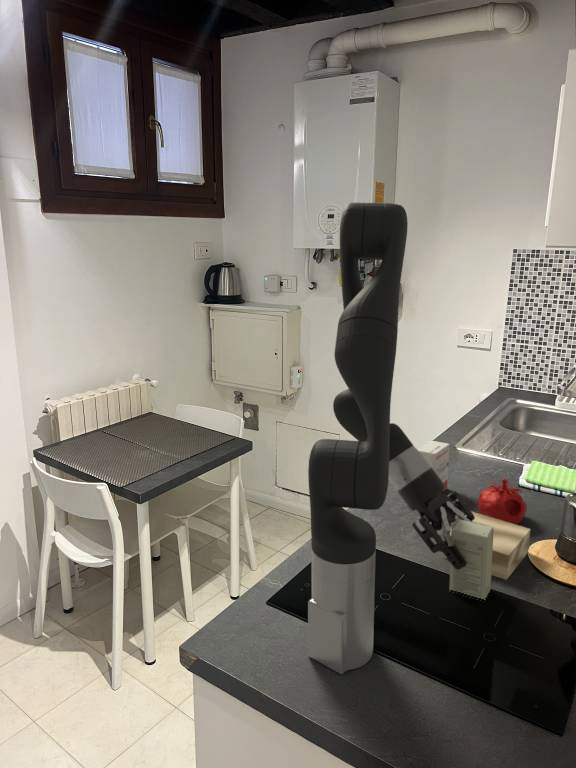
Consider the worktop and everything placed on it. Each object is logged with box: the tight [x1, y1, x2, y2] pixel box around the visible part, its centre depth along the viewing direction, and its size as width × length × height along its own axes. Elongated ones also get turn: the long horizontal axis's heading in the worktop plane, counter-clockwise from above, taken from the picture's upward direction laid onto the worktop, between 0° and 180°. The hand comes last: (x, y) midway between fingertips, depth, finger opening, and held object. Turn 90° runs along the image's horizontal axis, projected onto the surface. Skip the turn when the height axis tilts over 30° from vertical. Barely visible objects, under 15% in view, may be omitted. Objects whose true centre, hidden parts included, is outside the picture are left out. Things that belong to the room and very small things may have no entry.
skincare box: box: [449, 519, 494, 601], centre depth 100 cm, size 6×4×12 cm
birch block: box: [443, 510, 531, 581], centre depth 112 cm, size 12×12×5 cm
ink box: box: [417, 440, 450, 493], centre depth 138 cm, size 9×5×12 cm, turn 141°
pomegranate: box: [477, 478, 528, 525], centre depth 125 cm, size 10×10×9 cm
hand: (471, 557), depth 100 cm, fingers open, 7 cm apart
